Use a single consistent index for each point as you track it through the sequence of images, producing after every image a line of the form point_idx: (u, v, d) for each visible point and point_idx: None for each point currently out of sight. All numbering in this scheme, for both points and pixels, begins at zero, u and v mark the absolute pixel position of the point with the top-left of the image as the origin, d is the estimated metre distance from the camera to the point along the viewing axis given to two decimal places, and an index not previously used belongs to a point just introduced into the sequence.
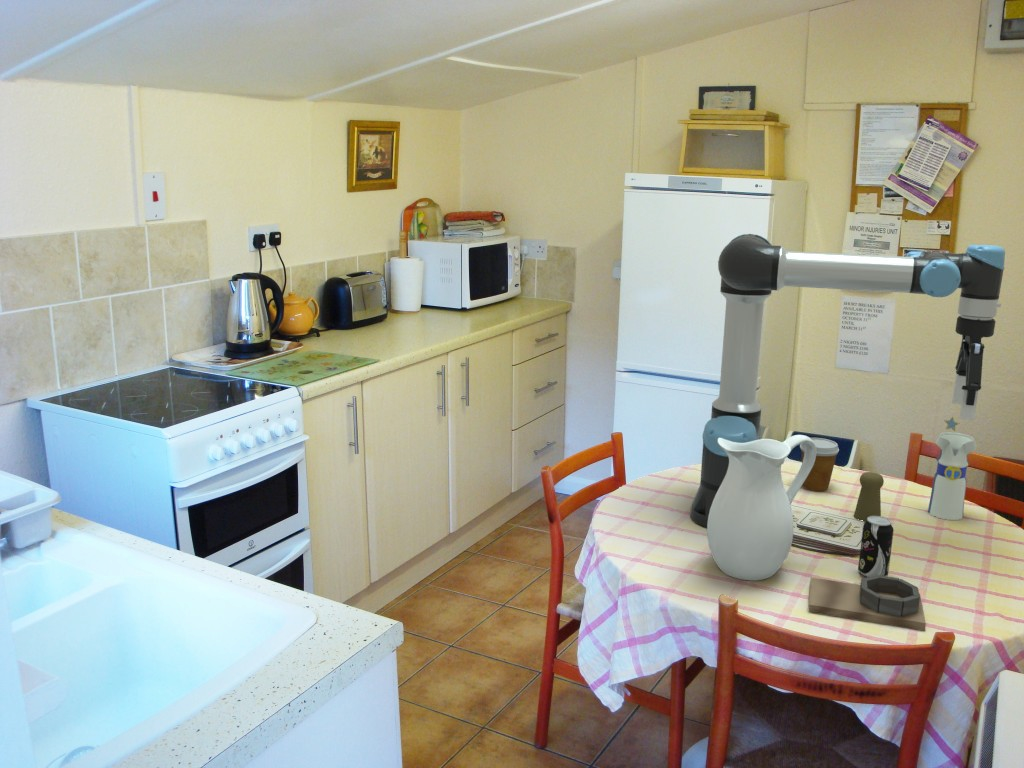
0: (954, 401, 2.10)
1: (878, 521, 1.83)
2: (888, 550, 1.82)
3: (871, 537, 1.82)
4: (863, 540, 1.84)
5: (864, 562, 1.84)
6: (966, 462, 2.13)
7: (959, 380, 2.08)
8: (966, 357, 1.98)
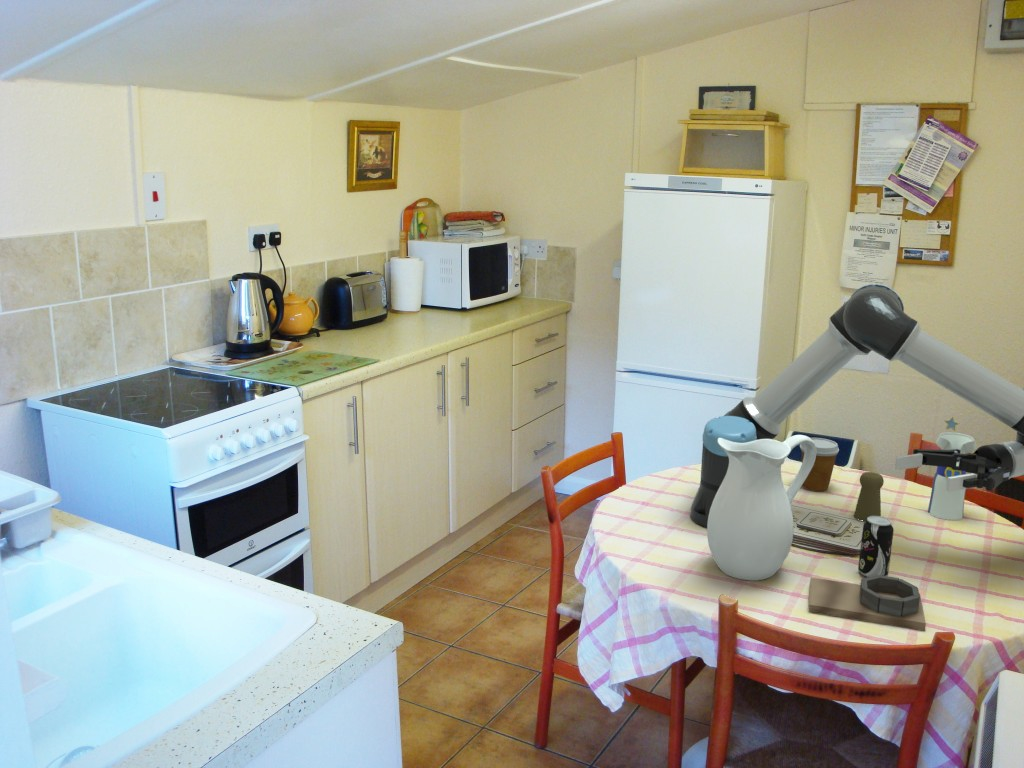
0: (900, 459, 1.91)
1: (878, 521, 1.83)
2: (888, 550, 1.82)
3: (871, 537, 1.82)
4: (863, 540, 1.84)
5: (864, 562, 1.84)
6: None
7: (918, 458, 1.92)
8: (985, 465, 1.86)
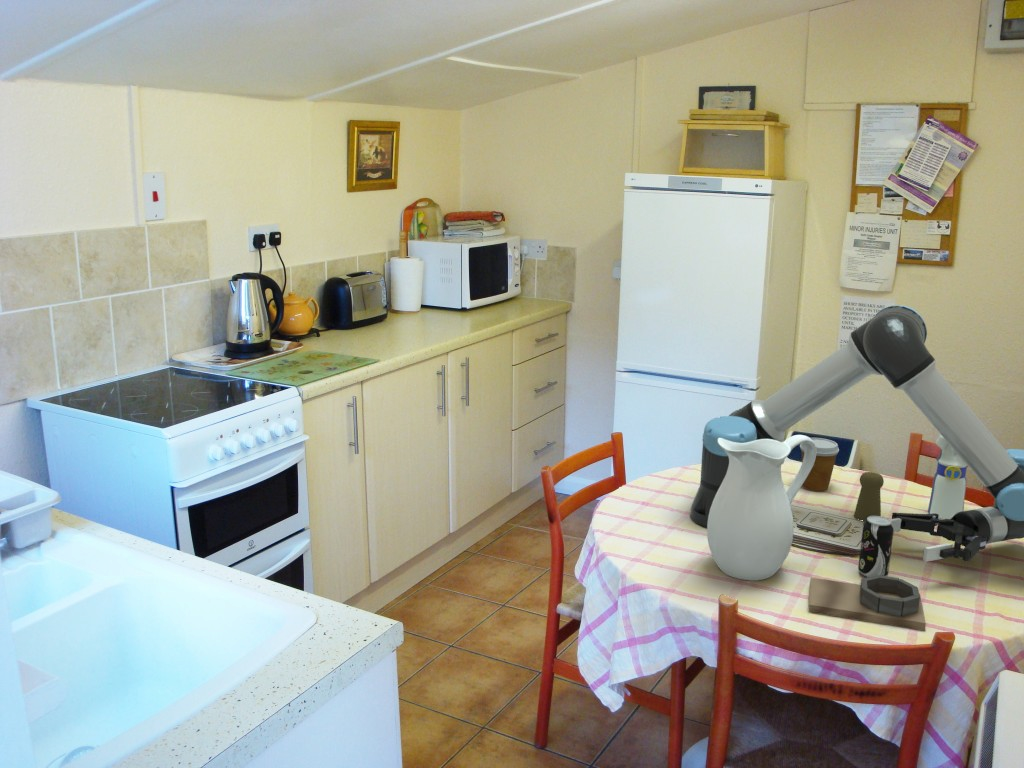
0: None
1: (878, 521, 1.83)
2: (888, 550, 1.82)
3: (871, 537, 1.82)
4: (863, 540, 1.84)
5: (864, 562, 1.84)
6: None
7: (896, 523, 1.94)
8: (962, 533, 1.87)
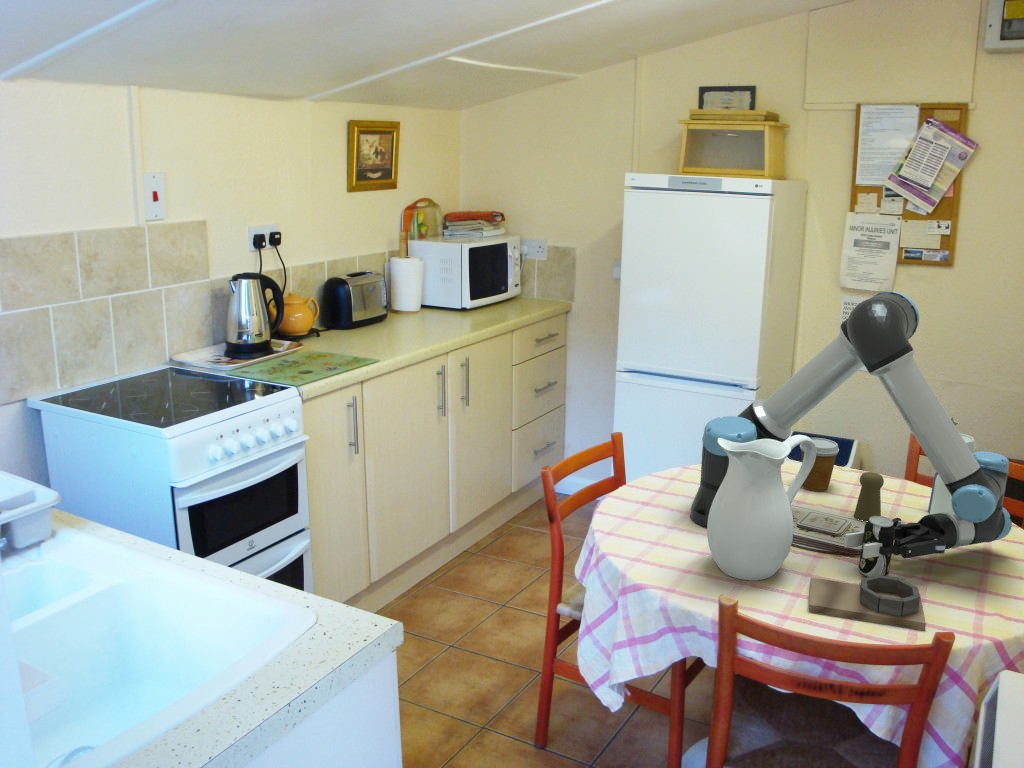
0: (849, 536, 1.85)
1: (880, 522, 1.83)
2: None
3: (873, 538, 1.82)
4: (864, 540, 1.84)
5: (865, 562, 1.84)
6: None
7: None
8: (920, 535, 1.85)
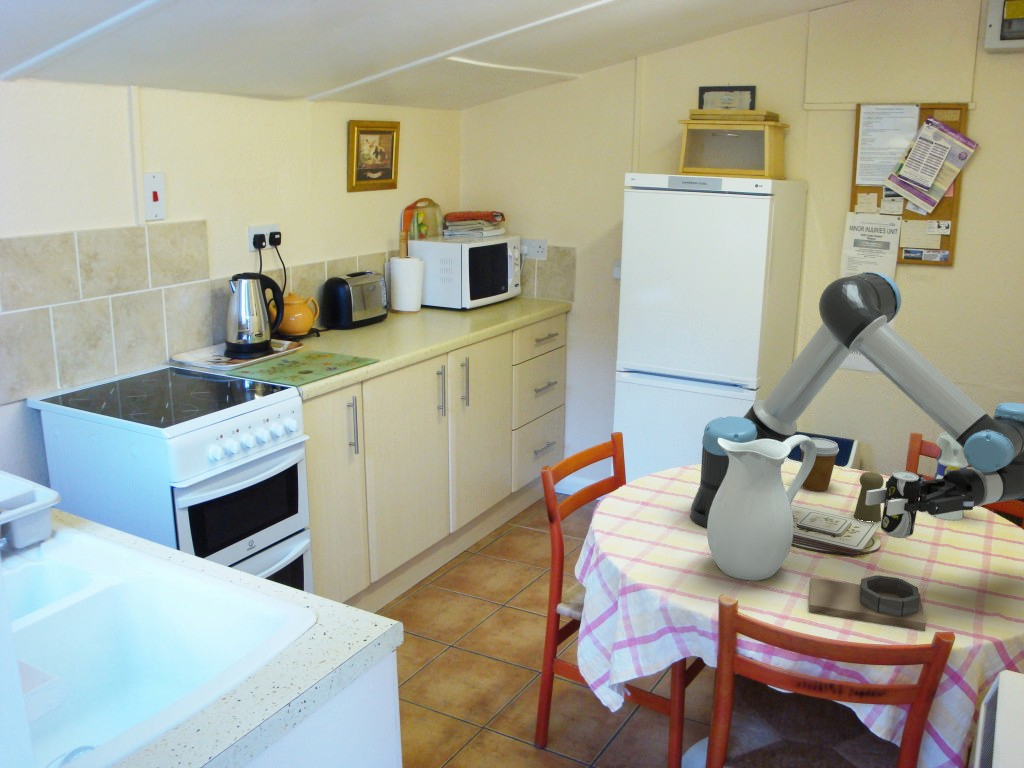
0: (871, 493, 1.72)
1: (904, 476, 1.70)
2: None
3: (897, 494, 1.69)
4: (887, 497, 1.71)
5: (888, 520, 1.71)
6: (966, 462, 2.13)
7: None
8: (946, 491, 1.72)
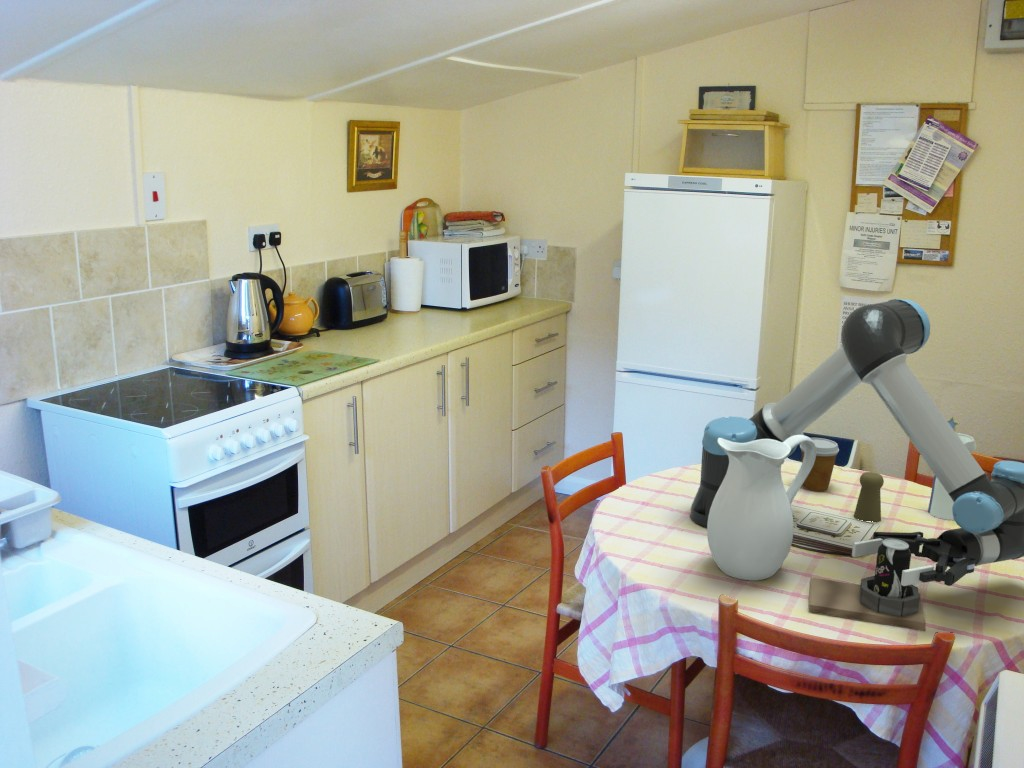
0: (857, 545, 1.73)
1: (894, 544, 1.69)
2: None
3: (886, 562, 1.67)
4: (877, 565, 1.70)
5: (878, 589, 1.70)
6: None
7: (878, 544, 1.75)
8: (948, 554, 1.69)
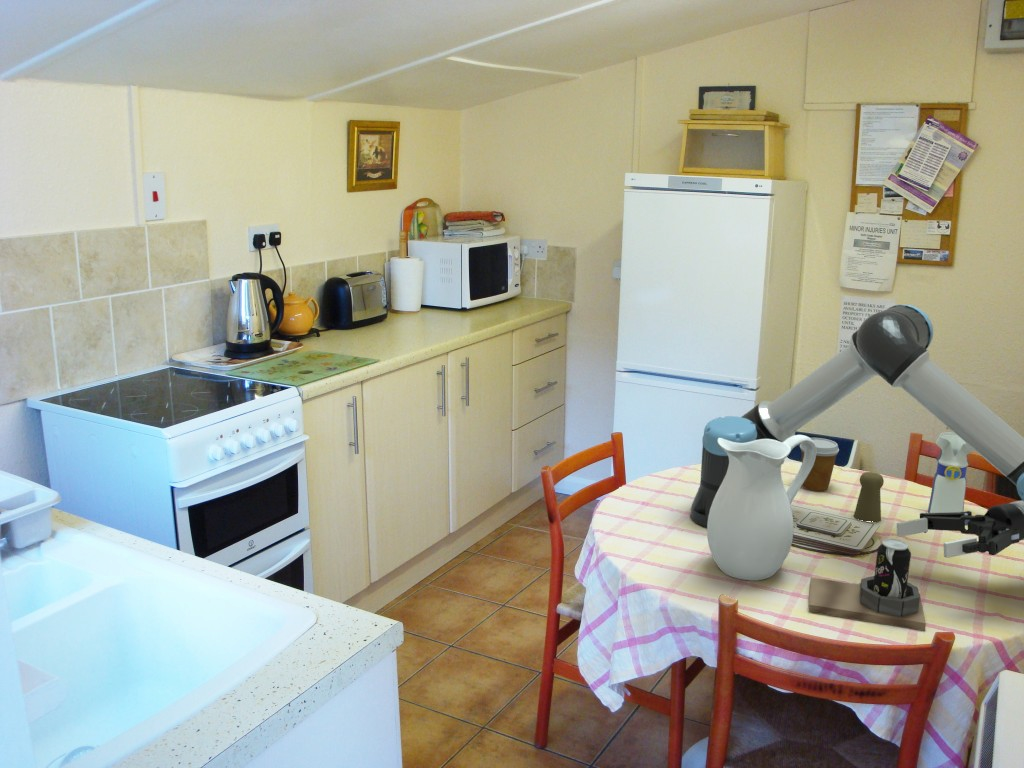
0: (900, 525, 1.81)
1: (894, 545, 1.68)
2: (905, 577, 1.68)
3: (886, 563, 1.67)
4: (877, 565, 1.70)
5: (878, 589, 1.70)
6: (966, 462, 2.13)
7: (922, 523, 1.82)
8: (992, 527, 1.74)
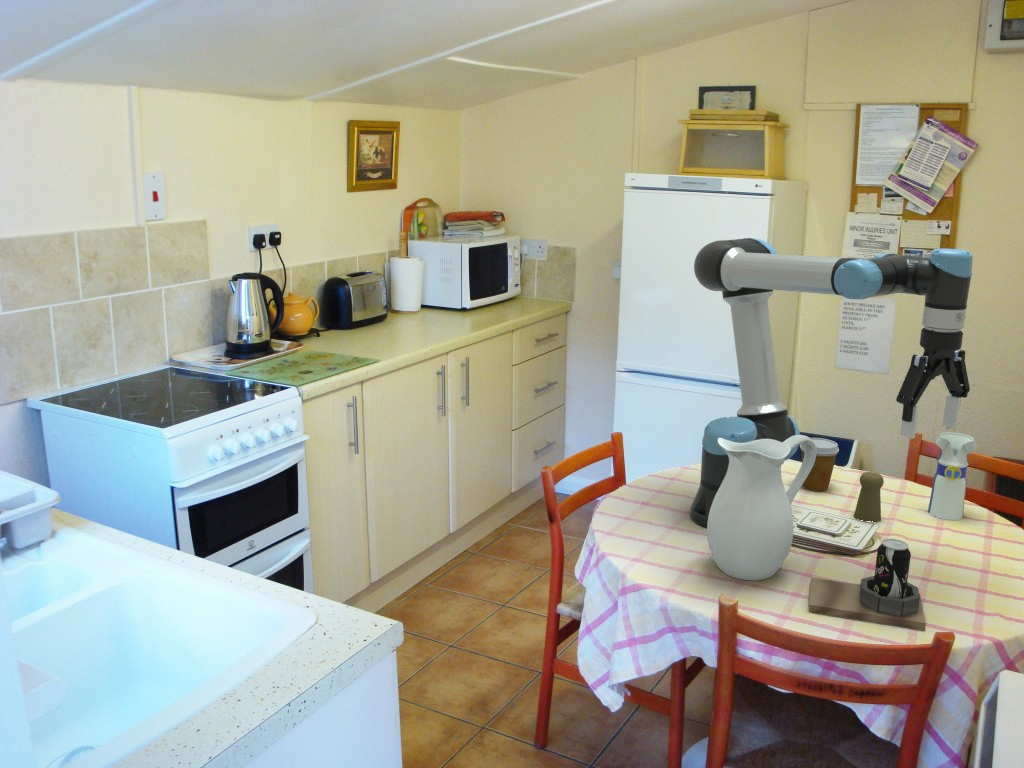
0: (944, 423, 1.89)
1: (894, 545, 1.68)
2: (905, 577, 1.68)
3: (886, 563, 1.67)
4: (877, 565, 1.70)
5: (878, 589, 1.70)
6: (966, 462, 2.13)
7: (949, 401, 1.87)
8: None
